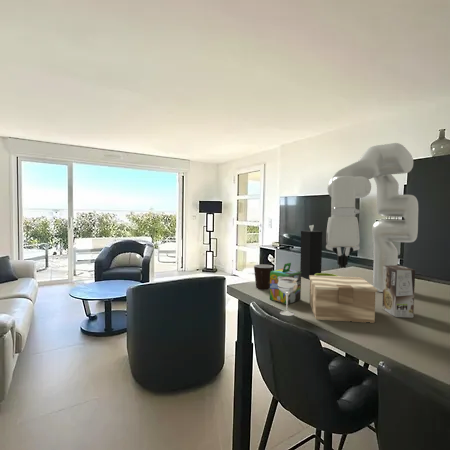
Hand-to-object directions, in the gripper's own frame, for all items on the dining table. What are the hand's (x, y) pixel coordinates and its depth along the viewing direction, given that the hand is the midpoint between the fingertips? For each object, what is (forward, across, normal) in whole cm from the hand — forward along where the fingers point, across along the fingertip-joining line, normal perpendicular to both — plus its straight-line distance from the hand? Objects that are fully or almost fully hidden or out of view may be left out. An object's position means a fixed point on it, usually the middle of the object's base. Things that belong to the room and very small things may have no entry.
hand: (342, 266), depth 104 cm
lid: (+10, +1, -1) cm, 10 cm away
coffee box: (+17, -19, -4) cm, 26 cm away
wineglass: (+16, +19, +3) cm, 25 cm away
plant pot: (+17, +2, -22) cm, 28 cm away
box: (+16, +1, -1) cm, 16 cm away
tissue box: (+18, +4, -57) cm, 60 cm away
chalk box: (+17, +19, -13) cm, 28 cm away
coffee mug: (+17, +29, -29) cm, 44 cm away
